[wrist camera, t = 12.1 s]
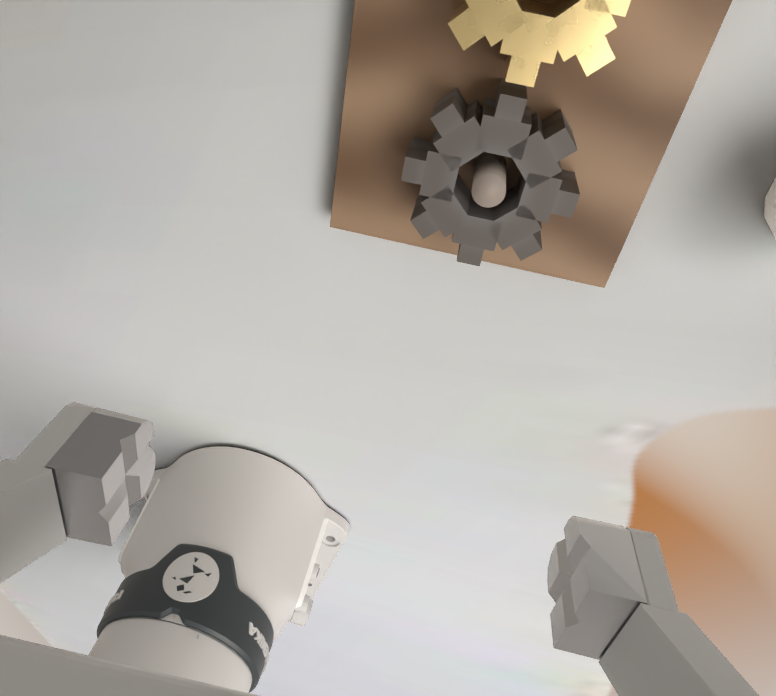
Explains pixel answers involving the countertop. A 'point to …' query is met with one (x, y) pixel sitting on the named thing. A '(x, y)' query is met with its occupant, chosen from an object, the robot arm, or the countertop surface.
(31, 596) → the countertop surface
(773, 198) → the white short cylinder
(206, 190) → the countertop surface
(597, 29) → the brass gear
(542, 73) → the gear board
